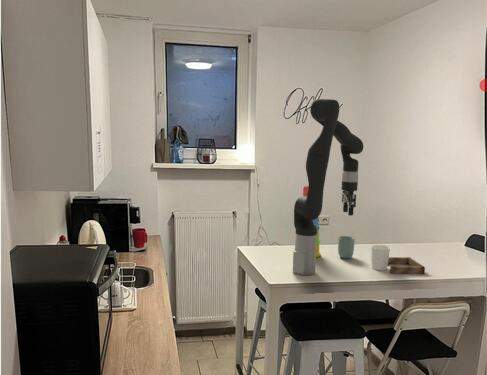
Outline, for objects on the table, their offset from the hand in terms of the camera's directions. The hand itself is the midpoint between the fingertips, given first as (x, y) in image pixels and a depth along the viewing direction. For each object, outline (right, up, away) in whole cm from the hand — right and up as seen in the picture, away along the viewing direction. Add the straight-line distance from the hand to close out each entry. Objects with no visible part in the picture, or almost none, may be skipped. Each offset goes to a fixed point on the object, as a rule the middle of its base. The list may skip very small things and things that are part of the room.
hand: (347, 213), depth 206 cm
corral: (+21, -24, -12) cm, 34 cm away
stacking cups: (-17, -21, +6) cm, 28 cm away
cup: (-1, -22, +3) cm, 22 cm away
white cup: (+11, -25, -12) cm, 30 cm away
